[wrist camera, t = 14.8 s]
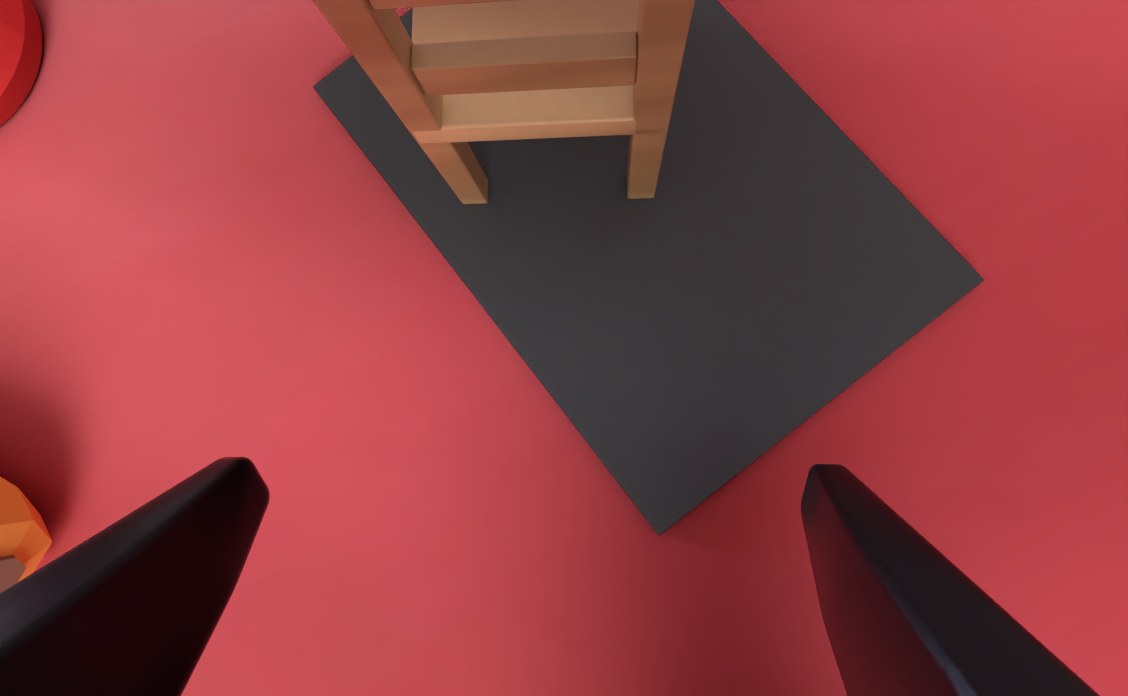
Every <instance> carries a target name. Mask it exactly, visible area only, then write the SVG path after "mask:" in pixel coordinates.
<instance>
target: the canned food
mask: <svg viewBox="0 0 1128 696" xmlns="http://www.w3.org/2000/svg"><path fill="white" fill-rule="evenodd" d="M41 56H42V32H41V26H40V21H39V17H38V15H37V12H36V10H35V7H34V5H33V3H32V2H31V0H0V126H1V125H2V124H4V123H5V122H6V121H7V120H8V119H9V118H10V117H11V116H13V114H14V113H15V112H16V111H17V109H18V108H19V107H20V106H21V105H22V103H23V102H24V101H25V99H26V97H27V95H28V94H29V92H30V90H31V88H32V87H33V84H34V81H35V79H36V76H37V73H38V71H39V66H40V61H41Z"/></svg>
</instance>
